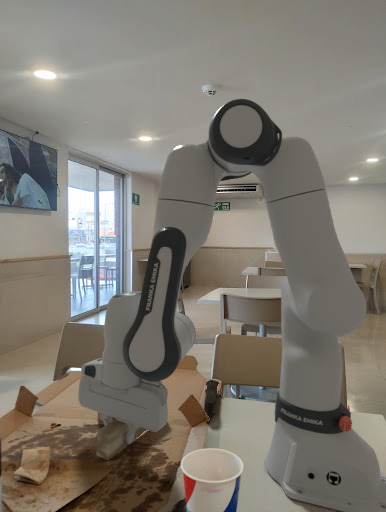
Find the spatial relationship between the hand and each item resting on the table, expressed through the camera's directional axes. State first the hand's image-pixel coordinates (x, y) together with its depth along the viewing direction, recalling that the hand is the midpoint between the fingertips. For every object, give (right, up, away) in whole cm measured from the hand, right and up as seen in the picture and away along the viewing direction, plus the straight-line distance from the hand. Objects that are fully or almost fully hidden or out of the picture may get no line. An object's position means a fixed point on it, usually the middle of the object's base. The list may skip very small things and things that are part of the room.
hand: (119, 438), depth 75 cm
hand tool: (+20, -3, +21) cm, 29 cm away
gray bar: (+2, -2, +5) cm, 5 cm away
